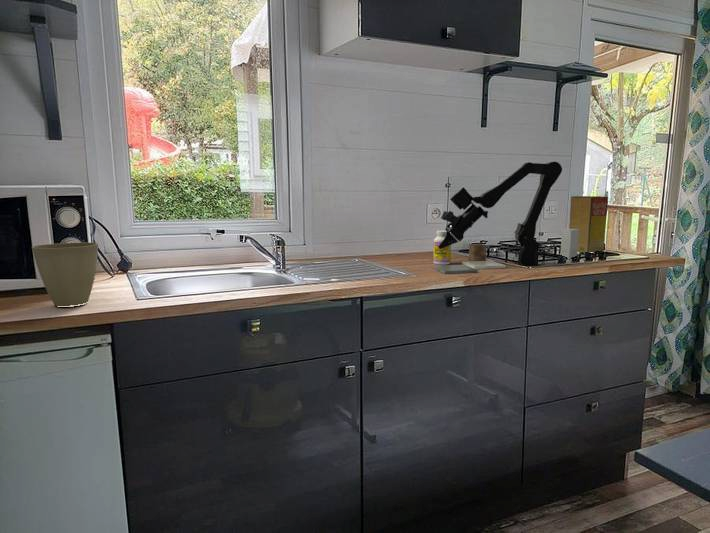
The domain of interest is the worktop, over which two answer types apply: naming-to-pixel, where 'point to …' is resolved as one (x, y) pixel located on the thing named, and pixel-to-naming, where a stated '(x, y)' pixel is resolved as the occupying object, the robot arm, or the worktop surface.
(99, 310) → the worktop surface
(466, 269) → the slate tile
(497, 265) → the off-white tile
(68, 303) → the plant pot
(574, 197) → the food packaging
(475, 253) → the walnut block
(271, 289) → the worktop surface
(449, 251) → the supplement bottle
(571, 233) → the skincare box
